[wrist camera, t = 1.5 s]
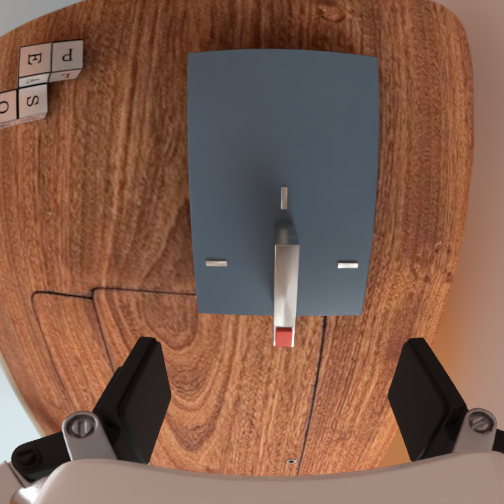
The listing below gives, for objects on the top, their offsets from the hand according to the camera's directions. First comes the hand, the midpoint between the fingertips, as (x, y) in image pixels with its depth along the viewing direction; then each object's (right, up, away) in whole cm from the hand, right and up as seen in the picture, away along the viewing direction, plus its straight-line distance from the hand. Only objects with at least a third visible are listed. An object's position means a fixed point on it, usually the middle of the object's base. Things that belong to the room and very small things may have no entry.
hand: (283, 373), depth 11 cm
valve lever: (+1, +4, +10) cm, 10 cm away
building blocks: (-18, +19, +9) cm, 28 cm away
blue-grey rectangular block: (+1, +9, +11) cm, 15 cm away
